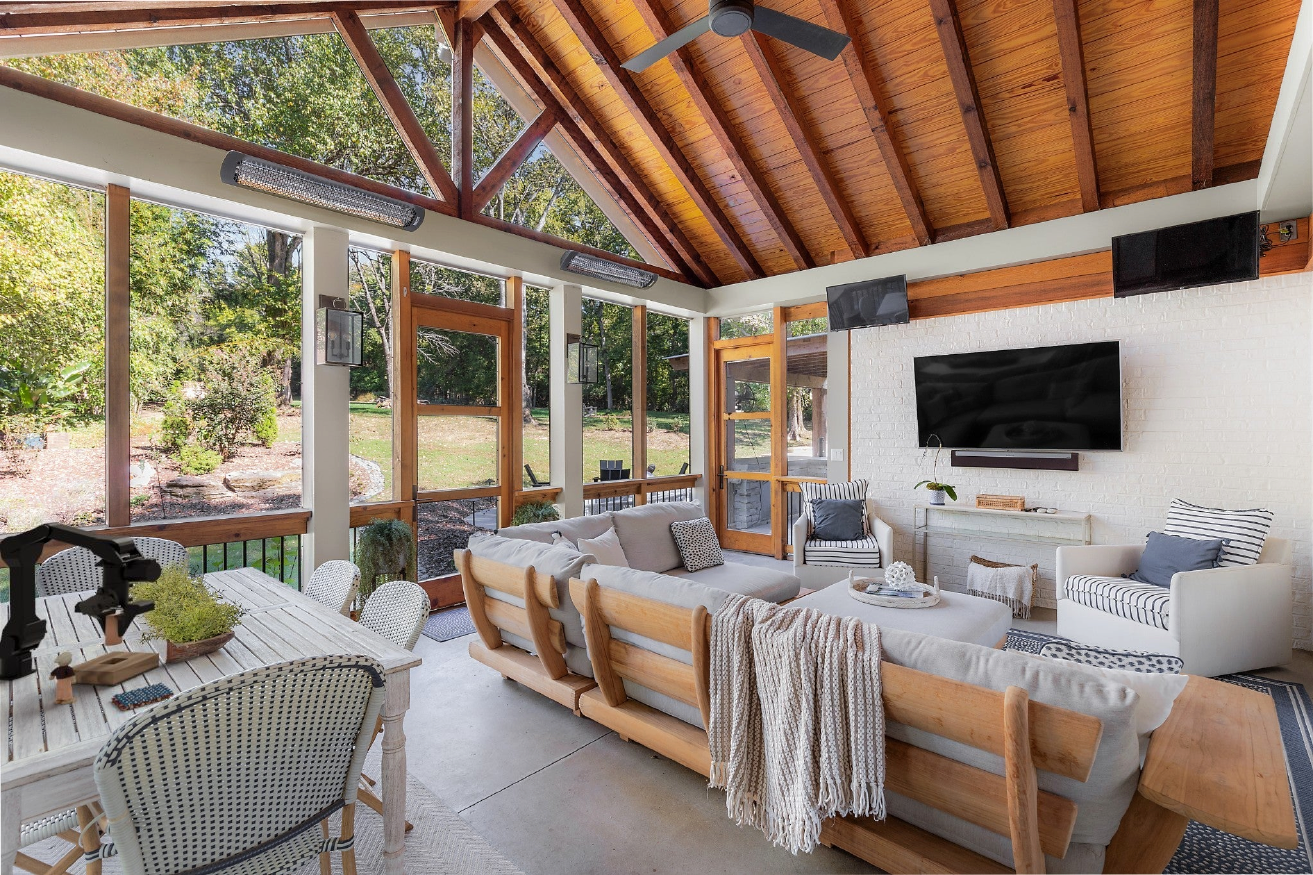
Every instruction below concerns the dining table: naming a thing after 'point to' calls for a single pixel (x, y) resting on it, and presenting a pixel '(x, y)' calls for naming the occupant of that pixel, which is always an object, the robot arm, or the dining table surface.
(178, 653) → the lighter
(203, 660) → the dining table surface
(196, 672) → the dining table surface
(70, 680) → the grandmother figurine
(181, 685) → the dining table surface
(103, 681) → the bore block
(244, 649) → the dining table surface
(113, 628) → the peg
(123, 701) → the woven mat
